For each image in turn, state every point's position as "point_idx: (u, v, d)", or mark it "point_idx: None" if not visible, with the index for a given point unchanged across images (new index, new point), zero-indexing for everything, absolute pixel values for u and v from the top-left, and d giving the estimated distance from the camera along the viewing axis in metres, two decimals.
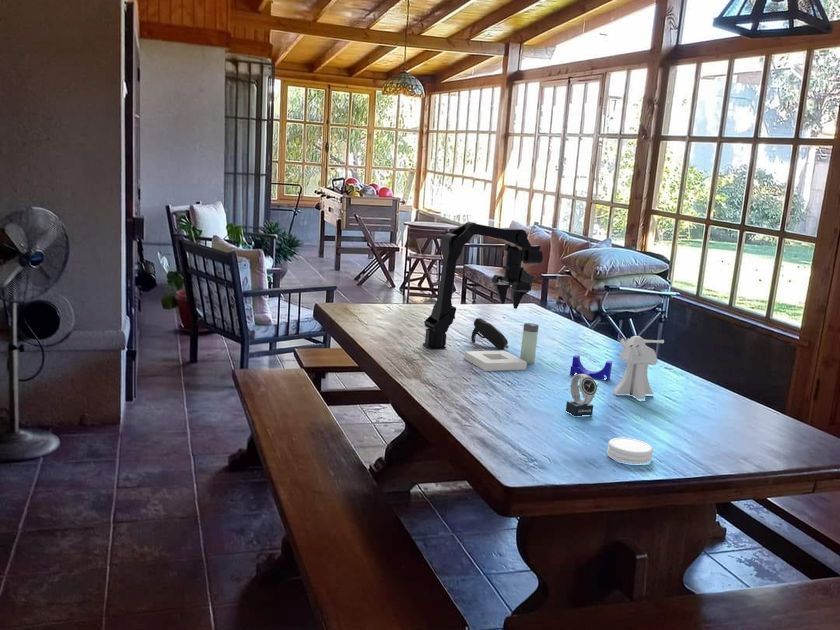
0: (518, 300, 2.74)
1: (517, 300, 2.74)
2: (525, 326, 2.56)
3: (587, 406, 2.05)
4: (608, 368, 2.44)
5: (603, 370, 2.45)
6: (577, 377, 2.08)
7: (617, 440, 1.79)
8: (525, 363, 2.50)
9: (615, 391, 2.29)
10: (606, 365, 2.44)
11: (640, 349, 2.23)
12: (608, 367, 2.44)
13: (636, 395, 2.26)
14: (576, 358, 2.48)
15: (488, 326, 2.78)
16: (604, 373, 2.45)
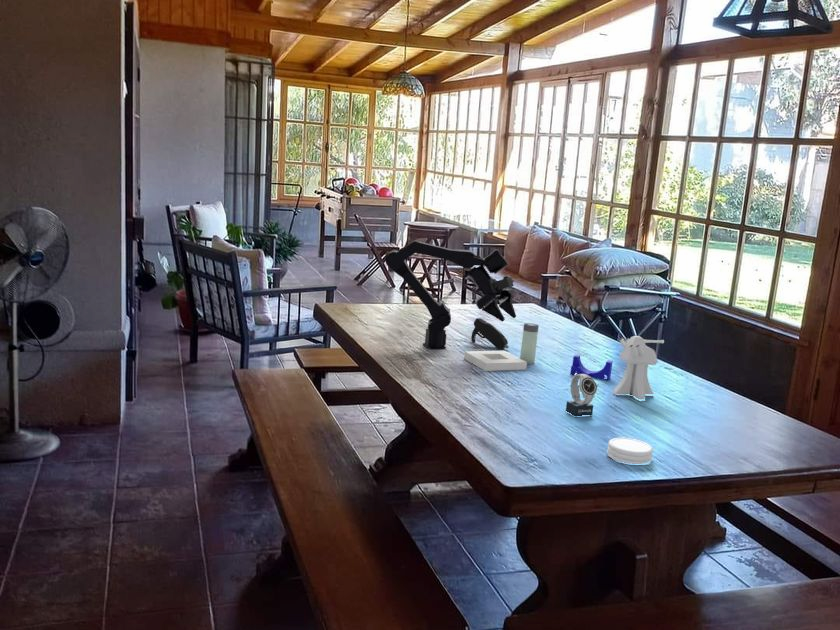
0: (497, 312, 2.57)
1: (496, 313, 2.58)
2: (525, 326, 2.56)
3: (587, 406, 2.05)
4: (608, 368, 2.45)
5: (603, 370, 2.45)
6: (577, 377, 2.08)
7: (617, 440, 1.79)
8: (525, 363, 2.50)
9: (615, 391, 2.29)
10: (606, 365, 2.45)
11: (640, 349, 2.23)
12: (608, 367, 2.45)
13: (636, 395, 2.26)
14: (576, 358, 2.49)
15: (488, 326, 2.78)
16: (604, 373, 2.45)
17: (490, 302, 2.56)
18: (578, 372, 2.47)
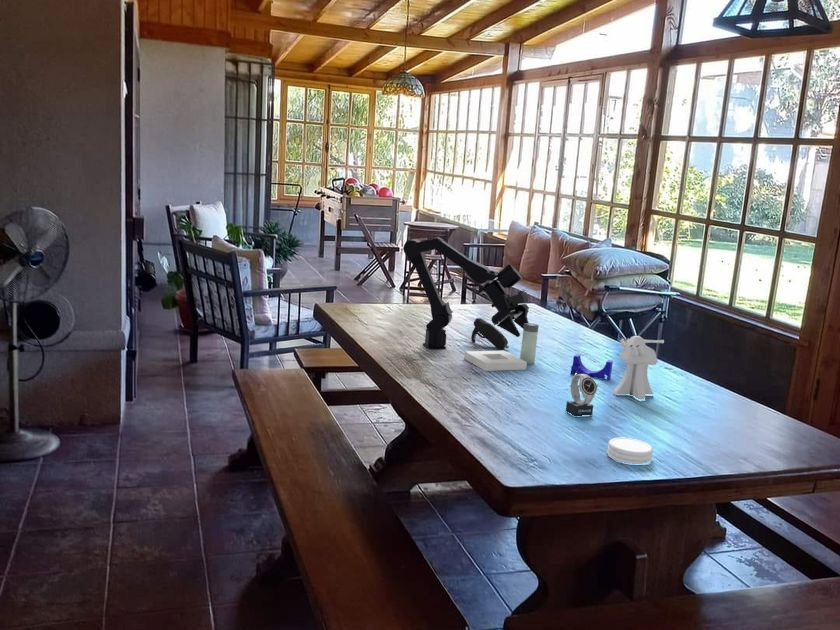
0: (512, 328, 2.55)
1: (511, 329, 2.55)
2: (525, 326, 2.56)
3: (587, 406, 2.05)
4: (608, 367, 2.45)
5: (604, 369, 2.46)
6: (577, 377, 2.08)
7: (617, 440, 1.79)
8: (525, 363, 2.50)
9: (615, 391, 2.29)
10: (607, 364, 2.45)
11: (640, 349, 2.23)
12: (608, 366, 2.45)
13: (636, 395, 2.26)
14: (577, 357, 2.49)
15: (488, 326, 2.78)
16: (605, 372, 2.46)
17: (505, 318, 2.53)
18: (578, 372, 2.48)
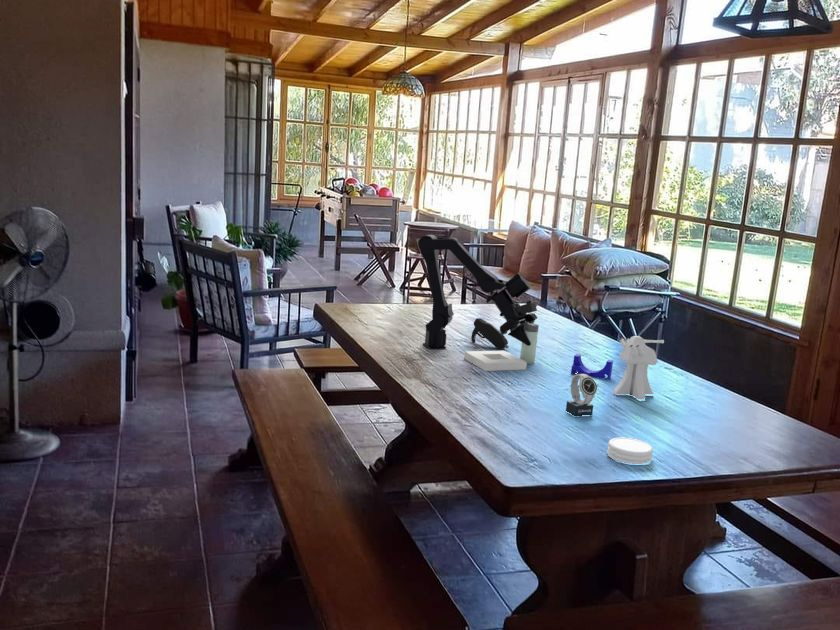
0: (523, 337, 2.55)
1: (522, 338, 2.56)
2: (525, 326, 2.56)
3: (587, 406, 2.05)
4: (609, 367, 2.46)
5: (604, 369, 2.46)
6: (577, 377, 2.08)
7: (617, 440, 1.79)
8: (525, 363, 2.50)
9: (615, 391, 2.29)
10: (607, 364, 2.46)
11: (640, 349, 2.23)
12: (609, 366, 2.45)
13: (636, 395, 2.26)
14: (577, 357, 2.49)
15: (488, 326, 2.78)
16: (605, 372, 2.46)
17: (516, 327, 2.54)
18: (579, 371, 2.48)
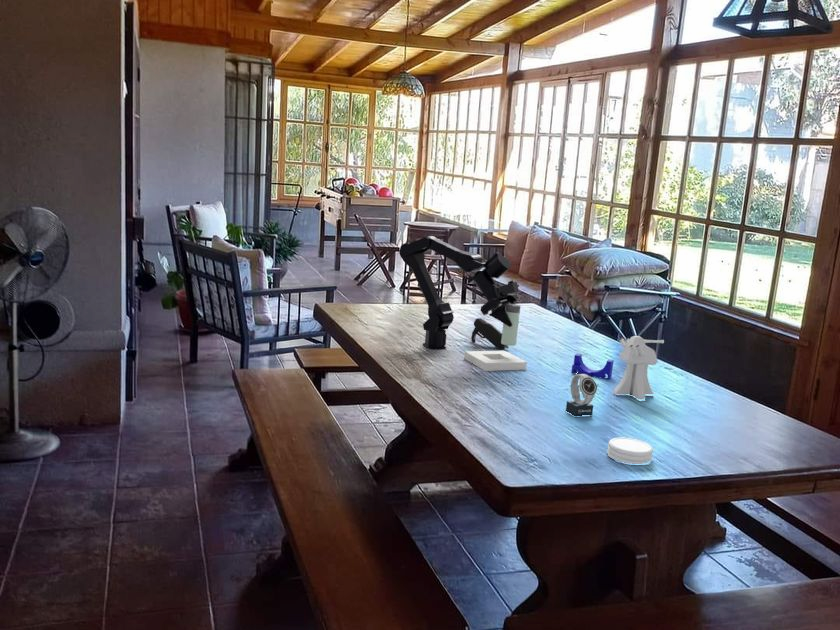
0: (504, 318, 2.51)
1: (503, 318, 2.51)
2: (507, 307, 2.51)
3: (587, 406, 2.05)
4: (609, 367, 2.46)
5: (604, 369, 2.47)
6: (577, 377, 2.08)
7: (617, 440, 1.79)
8: (525, 363, 2.50)
9: (615, 391, 2.29)
10: (607, 364, 2.46)
11: (640, 349, 2.23)
12: (609, 366, 2.46)
13: (636, 395, 2.26)
14: (578, 357, 2.50)
15: (488, 326, 2.78)
16: (605, 372, 2.47)
17: (498, 307, 2.49)
18: (579, 371, 2.49)
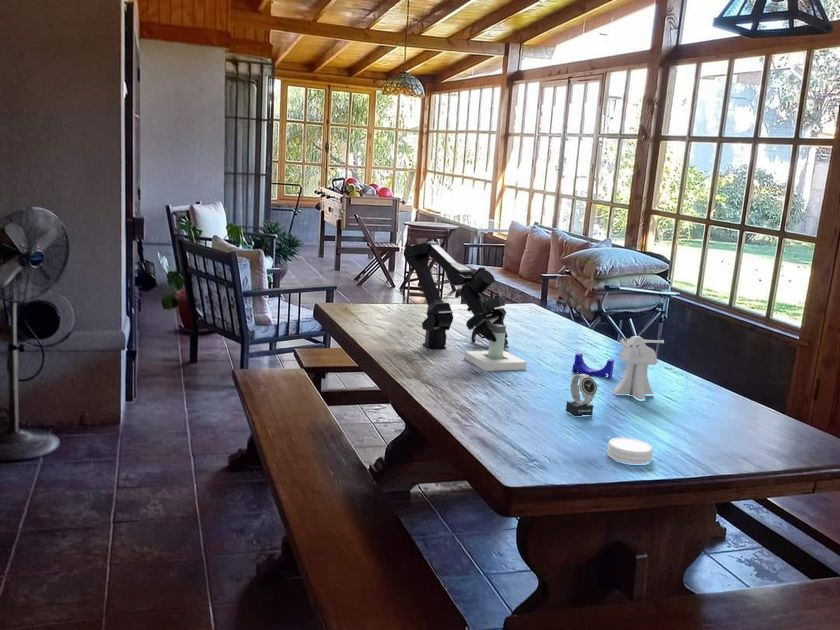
0: (488, 333, 2.48)
1: (487, 334, 2.48)
2: (492, 327, 2.50)
3: (587, 406, 2.05)
4: (610, 366, 2.47)
5: (605, 368, 2.48)
6: (577, 377, 2.08)
7: (617, 440, 1.79)
8: (525, 363, 2.50)
9: (615, 391, 2.29)
10: (608, 363, 2.47)
11: (640, 349, 2.23)
12: (610, 365, 2.47)
13: (636, 395, 2.26)
14: (578, 356, 2.51)
15: None
16: (606, 371, 2.48)
17: (481, 322, 2.46)
18: (580, 370, 2.50)
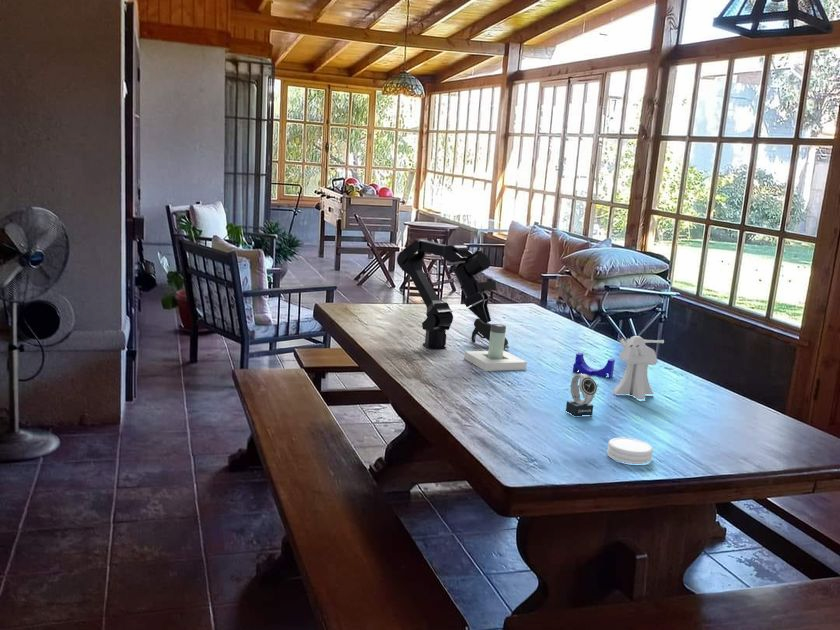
0: (482, 313, 2.51)
1: (481, 314, 2.51)
2: (492, 327, 2.50)
3: (587, 406, 2.05)
4: (610, 366, 2.47)
5: (605, 368, 2.48)
6: (577, 377, 2.08)
7: (617, 440, 1.80)
8: (525, 363, 2.50)
9: (615, 391, 2.29)
10: (608, 363, 2.48)
11: (640, 349, 2.23)
12: (610, 365, 2.47)
13: (636, 395, 2.26)
14: (579, 356, 2.52)
15: (488, 326, 2.78)
16: (606, 371, 2.48)
17: (479, 302, 2.49)
18: (580, 370, 2.51)
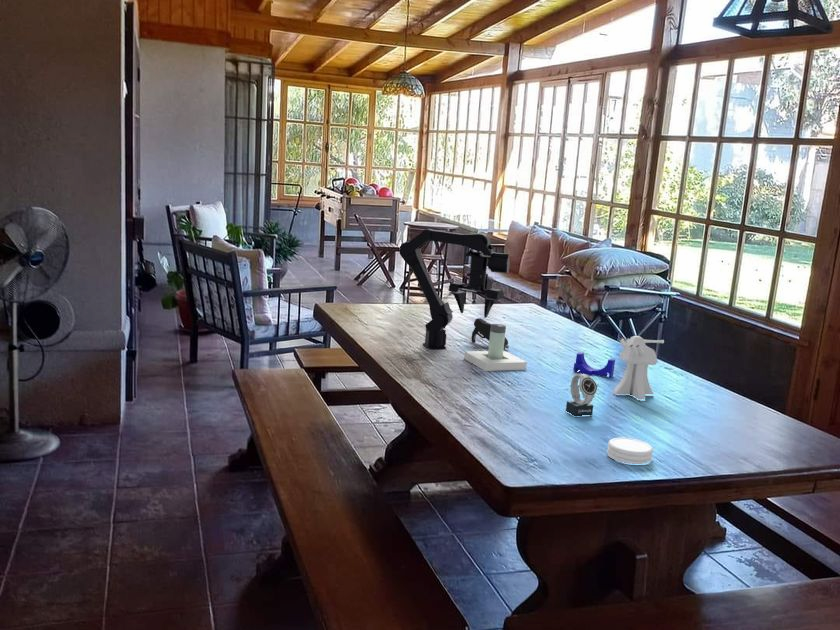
0: (489, 308, 2.62)
1: (489, 308, 2.62)
2: (492, 327, 2.50)
3: (587, 406, 2.05)
4: (610, 365, 2.48)
5: (605, 367, 2.49)
6: (577, 377, 2.08)
7: (617, 440, 1.80)
8: (525, 363, 2.50)
9: (615, 391, 2.29)
10: (608, 362, 2.48)
11: (640, 349, 2.23)
12: (610, 364, 2.48)
13: (636, 395, 2.26)
14: (579, 355, 2.53)
15: (488, 326, 2.78)
16: (606, 370, 2.49)
17: (498, 298, 2.61)
18: (581, 369, 2.51)
